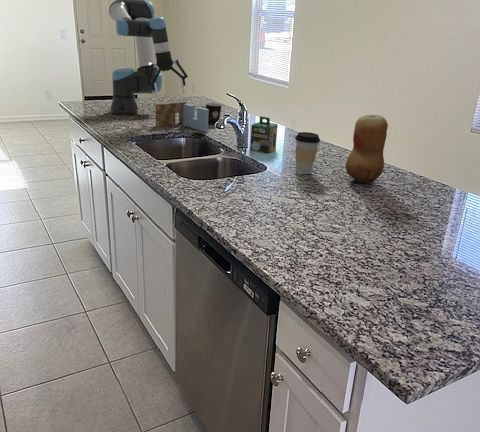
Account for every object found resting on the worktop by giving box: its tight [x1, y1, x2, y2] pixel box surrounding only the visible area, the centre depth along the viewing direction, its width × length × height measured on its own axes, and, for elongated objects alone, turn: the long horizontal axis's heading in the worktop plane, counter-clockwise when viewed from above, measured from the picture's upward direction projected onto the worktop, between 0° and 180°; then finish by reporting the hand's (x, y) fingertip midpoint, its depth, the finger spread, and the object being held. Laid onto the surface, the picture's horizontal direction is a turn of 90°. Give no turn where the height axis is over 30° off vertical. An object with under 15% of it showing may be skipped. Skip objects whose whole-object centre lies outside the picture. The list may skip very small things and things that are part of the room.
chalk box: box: [249, 116, 278, 154], centre depth 203 cm, size 9×9×15 cm
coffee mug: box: [201, 102, 223, 125], centre depth 248 cm, size 12×9×10 cm
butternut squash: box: [345, 114, 389, 183], centre depth 169 cm, size 14×13×25 cm
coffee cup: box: [294, 131, 321, 175], centre depth 176 cm, size 9×9×15 cm
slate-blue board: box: [182, 103, 209, 133], centre depth 233 cm, size 16×2×11 cm, turn 47°
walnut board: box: [155, 100, 187, 128], centre depth 237 cm, size 18×2×11 cm, turn 137°
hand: (170, 94), depth 238 cm, fingers open, 13 cm apart
